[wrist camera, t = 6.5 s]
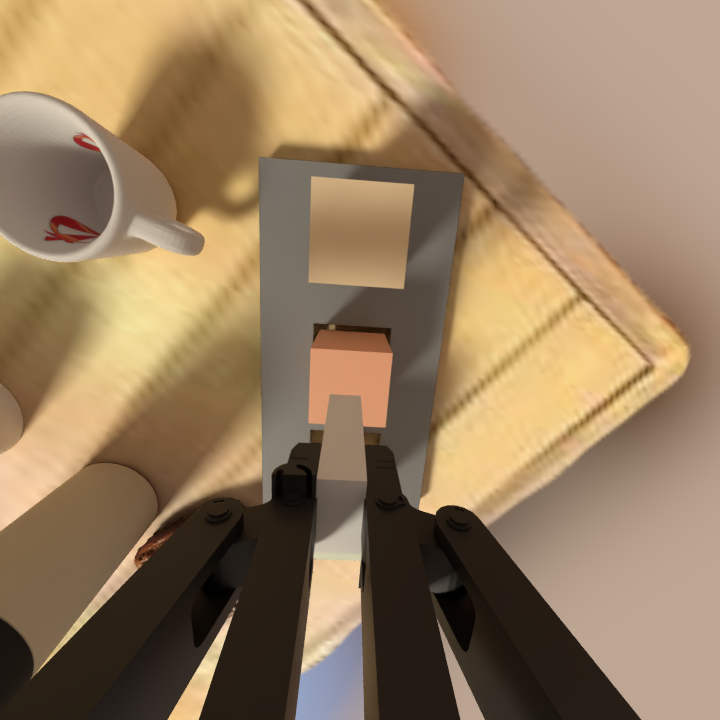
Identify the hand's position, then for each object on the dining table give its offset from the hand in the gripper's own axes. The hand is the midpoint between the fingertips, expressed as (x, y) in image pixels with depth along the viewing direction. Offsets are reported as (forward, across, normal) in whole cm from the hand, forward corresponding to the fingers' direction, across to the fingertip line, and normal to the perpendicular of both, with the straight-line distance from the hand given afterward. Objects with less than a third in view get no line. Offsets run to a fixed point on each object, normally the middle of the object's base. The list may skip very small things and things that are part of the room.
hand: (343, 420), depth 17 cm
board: (+12, 0, 0) cm, 12 cm away
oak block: (+9, 0, +9) cm, 13 cm away
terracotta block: (+11, 0, 0) cm, 11 cm away
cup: (+13, -15, +10) cm, 22 cm away
